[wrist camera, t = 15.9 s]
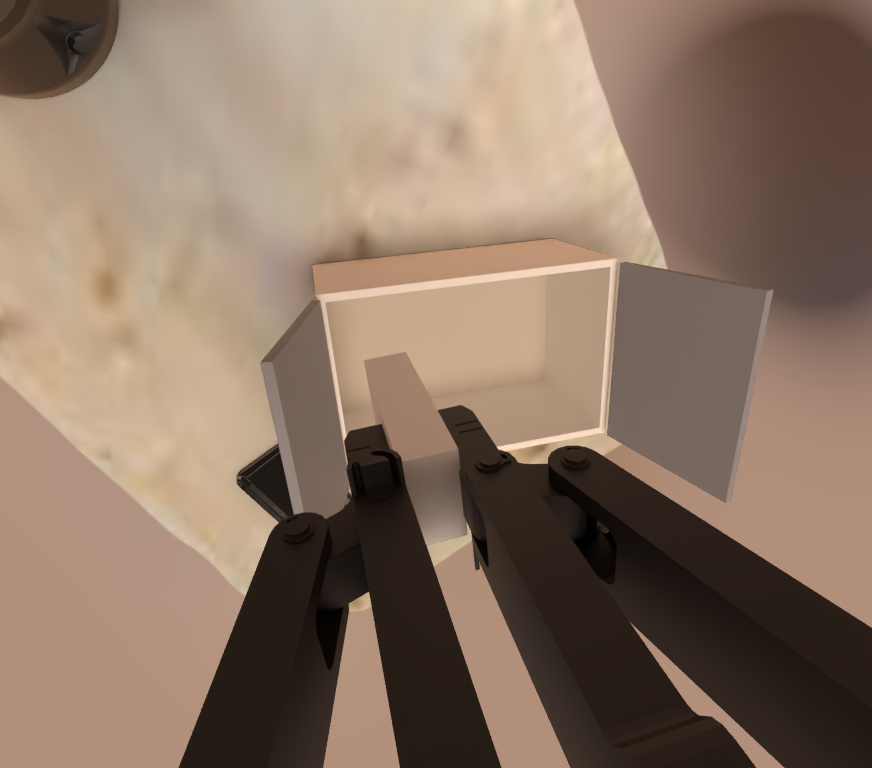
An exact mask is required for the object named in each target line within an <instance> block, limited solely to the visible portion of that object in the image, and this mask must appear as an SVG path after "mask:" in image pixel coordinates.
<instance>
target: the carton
mask: <svg viewBox="0 0 872 768" xmlns="http://www.w3.org/2000/svg"><path fill="white" fill-rule="evenodd" d="M617 265H618V258H615V257H612V256H608V255H605V254H602V253H598V252H595V251H592V250H589V249H585V248H582V247H579V246H575V245H572V244H569V243H565V242H562V241H559V240H556V239H552V238H551V239H542V240H533V241H523V242H514V243H505V244H496V245H487V246H478V247H469V248H460V249H451V250H442V251H433V252H424V253H415V254H406V255H397V256H388V257H379V258H370V259H361V260H352V261H343V262H334V263H325V264H316V265H312V268H313V277H314V287H315V296H316V301H317V300H320V302H321V308H322V314H323V320H324V327H325V333H326V339H327V345H328V351H329V357H330V364H331V370H332V376H333V382H334V388H335V394H336V401H337V407H338V413H339V419H340V425H341V431H342V437H343V444H344V440H345V438H346V436H347V434H348V432H349V431H351V430H356V429H360V428H365V427H369V426H374V425H376V423H375V417H374V412H373V407H372V401H371V396H370V391H369V386H368V380H367V375H366V370H365V364H364V360H367V359H372V358H377V357H382V356H387V355H392V354H397V353H402V352H406V353H407V355H408V357H409V359H410V361H411V363H412V364H413V366H414V368H415V370H416V372H417V374H418V375H419V377H420V379H421V381H422V383H423V385H424V386H425V388H426V390H427V392H428V394H429V396H430V398H431V399H432V401H433V403H434V405H435V407H436V409H437V410H440V409H445V408H449V407H454V406H458V405H463V406H464V407H466V408H468V409H470V410H472V411H473V412H474V414H475V415H476V417H477V418H478V420H479V421H480V423H481V424H482V426H483V428H484V429H485V430H486V432H487V433H488V434H489V436H490V437H491V439H492V440H493V442H494V443H495V445H496V446H497V448H498V449H499V450H503V451H508V450H514V449H519V448H524V447H529V446H535V445H540V444H545V443H551V442H556V441H561V440H566V439H572V438H577V437H582V436H588V435H593V434H598V433H603V432H605V425H606V412H607V399H608V385H609V372H610V358H611V345H612V332H613V318H614V305H615V292H616V278H617ZM344 450H345V445H344ZM345 456H346V451H345ZM346 462H347V456H346ZM347 464H348V462H347Z"/></svg>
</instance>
